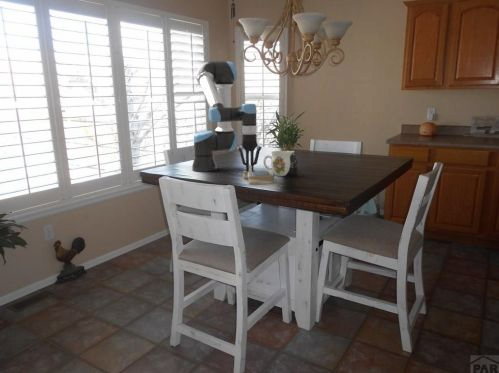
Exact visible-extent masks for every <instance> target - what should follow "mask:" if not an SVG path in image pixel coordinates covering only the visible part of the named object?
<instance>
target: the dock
mask: <svg viewBox="0 0 499 373" xmlns="http://www.w3.org/2000/svg"><path fill="white" fill-rule="evenodd" d="M242 174H243V175H242V179H243V180H248V185H260V184H261V185H264V184H274V183H275V174H274V173H272V172H270V170H268V175H263V176H248V172H247V171H246V170H244V171H242ZM248 177H249V178H248Z"/></svg>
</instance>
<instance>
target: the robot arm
mask: <svg viewBox="0 0 499 373" xmlns="http://www.w3.org/2000/svg"><path fill="white" fill-rule="evenodd" d="M237 77H238V75H237V68H236V65H235V64H234V63H233V62H232V61H226V60H224V61H220V60H219V61H215V60H214V61H212V60H211V61H210V60H209V61H208V60H207V61H204V62H203V63H201V64H200V65H199V66H198V68H197V70H196V73H195V78H196V81H197V83H198V85H199V86H201V88H202V89H201V90H202V91H203V94H204V97H205V99H206V101H207V104H208V107H209V109H208V111H207V115H208V120H209V122H211V123H217V127H216V128H215V131H214V132H213V131H212V130H207V131H206V130H204V131H201V132H196V133H194V135H193V152H194V153H193V154H194V158H193V162H192V165H191V169H192V171H194V172H203V173H204V172H212V171H216V170H217V167H218V166H217V163H216V160H215V157H214V153H218V152H219V153H220V152H221V153H222V152H231V151H234V150H235V149H236V147H237V150H238V151H239V154H240V160H241V162H242V165H243V166H245V171H247V172H248V176H252V172H253V171H254V170H253V169H255V168H254V167H255V165H257V164H258V160H259V155H260V152H261V151H262V146H260V145H258V142H257V134H256V133H257V132H258V130H257V112H258V110H257V105H256V104H255V103H242V105H241V106H234V107H233V106H232V87H233V86H234V83H235V82H236V81H237ZM232 122H241V125H242V126H241V128H242V129H241V133H242V140H241V144H240V146H237V145H238V135H237V132H235V130H234V129H233V127H232ZM243 150H244V152H245V157H244V152H243ZM255 150H256V151H255ZM254 151H255V152H254ZM254 155H255V156H254ZM248 178H249V177H248Z"/></svg>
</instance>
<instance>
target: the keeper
mask: <svg viewBox="0 0 499 373" xmlns="http://www.w3.org/2000/svg"><path fill="white" fill-rule="evenodd" d="M253 170H254V171H253V172H252V176H263V175H268V171H269V170H268V169H267V168H265V167H263V168H254V169H253Z"/></svg>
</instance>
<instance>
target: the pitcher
mask: <svg viewBox="0 0 499 373" xmlns="http://www.w3.org/2000/svg"><path fill="white" fill-rule="evenodd" d="M294 153H295V151H293V150H275V151H271V155H265V156H264V159H263V166H264V168H265V169H266V170H268V171H272V172H273V173H272V174H273V175H274V176H276V177H277V176H278V177H283V176H287V174H289V171H290V168H291V159H290V158H291V156H292V154H294ZM267 158H269V159H270V166H271V167H269V166H268V165H267V163H266V160H267Z"/></svg>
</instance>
